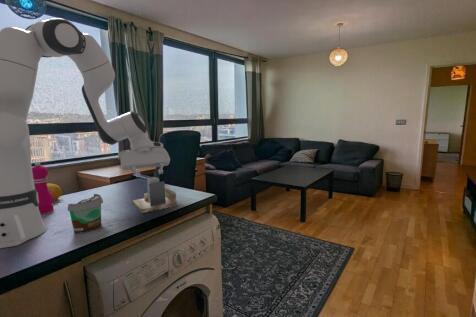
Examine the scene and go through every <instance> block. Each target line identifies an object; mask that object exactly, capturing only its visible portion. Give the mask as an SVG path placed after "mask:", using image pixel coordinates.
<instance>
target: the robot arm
mask: <svg viewBox="0 0 476 317" xmlns="http://www.w3.org/2000/svg"><path fill="white" fill-rule="evenodd" d="M65 56H66V57H69V59H71V60H72V61H73V63H75V65H76V67H77V69H78V71H79V73H80V74H81V76H82V80H83V85H82V87H81V93H82V96H83V99H84V102H85V104H86V106H87V109H88V111H89V113H90V116H91V117H92V120H93V122H94V124H95V127H96V131H97V134H98V137H99V138H100V140H101V141H102V142H103V143H104V144H106V145H111V146H113V145H116V144H118V143H119V142H121V141H123V140H126V139H128V142H129V146H130V149H126V150H121V151H119V152H118V153H117V158H118V159H119V160H120V168H121V170H123V171H129V170H130V171H131V172H132V173H133V174H135V177H136V178H139V177H141V171H140V169H149V168H158V167H159V169H158V171H157V172H158V174H159V175H163V174H164V170H163V168H164V167H167V166H169V165H170V161H171V157H170V155H169V152H168V151H167V150H166V148H164V143H162V142H158V141H153V140H151V139H150V138H149V133H148V130H147V128H148V127H147V125H146V122H145V120H144V118H143V117H142V115H141V114H140V113H138V112H135V111H132V110H131V111H128V112H126V113H124V114H123V113H122V114H120V115H118V116H115V117H113V118H111V119H106V116H105V115H104V112H103V110H102V108H101V105H100V103H99V102H100V101H99V100H100V97H101V96H102V95H103V94H105V93H106V92H107V91H108V90H109V89H110V87H112V85H113V83H114V81H115V78H116V72H115V69H114V67H113V65H112V63H111V61H110V60H109V58H108V55H107V53H105V51H104V50H103V48H102V46H100V44H99V42H98V41H97V40H96V39H95V38H94V37H93V35H91V34H89V33H84V32H82V31H80V29H78V27H77V26H76V25H74V23H72V22H71V21H69V20H67V19H65V18H60V17H53V18H50V19H42V20H40V21H37V22H35V23H33V24H30V25H29V26H28V27H26V28H25V29H22V28H19V27H16V26H15V27H14V26H7V27H3V28H2V29H1V30H0V249H4V248H5V249H6V248H11V247H15V246H19V245H21V244H23V243H26V242H27V241H29V240H30V239H33V238H36V237H38V236H40V235H42V234H43V233H45V231H47V228H48V227H47V226H46V224H45V222H44V220H43V218H42V214H40V211H39V207H38V205H39V199H38V192H37V189H36V188H35V187H34V179H33V172H32V167H33V165H32V151H31V150H32V149H31V138H30V137H31V136H30V128H29V124H28V122H27V119H28V115H29V111H30V108H31V103H32V100H33V98H34V97H33V96H34V92H35V86H36V81H37V75H38V68H39V63H40V60H41V58H61V57H65Z"/></svg>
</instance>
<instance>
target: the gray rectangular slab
mask: <svg viewBox="0 0 476 317" xmlns="http://www.w3.org/2000/svg"><path fill="white" fill-rule="evenodd" d="M165 187H166V186H165V181H159V182H157V183H150V184H149V197H150V206H156V205H161V204H166V199H165Z"/></svg>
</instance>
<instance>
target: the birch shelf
mask: <svg viewBox="0 0 476 317" xmlns="http://www.w3.org/2000/svg"><path fill="white" fill-rule="evenodd" d="M165 199H166V204H161V205H156V206H150V202H149V200H148V192H146V193H144V194H143V198H138V199H133V200H132V205H133V206H134V207H135V208H136V209H137V210H138V211H139V212H140V213H141V214H145V213H149V211H150V212H155V211H159V210H163V208H164V209H167V208H168V207H169V208H172V207H173V206H174V207H177V193H176V192H175V191H173V190H172V189H170V188H169V187H167V186H165ZM158 209H159V210H158ZM154 210H155V211H154Z"/></svg>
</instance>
